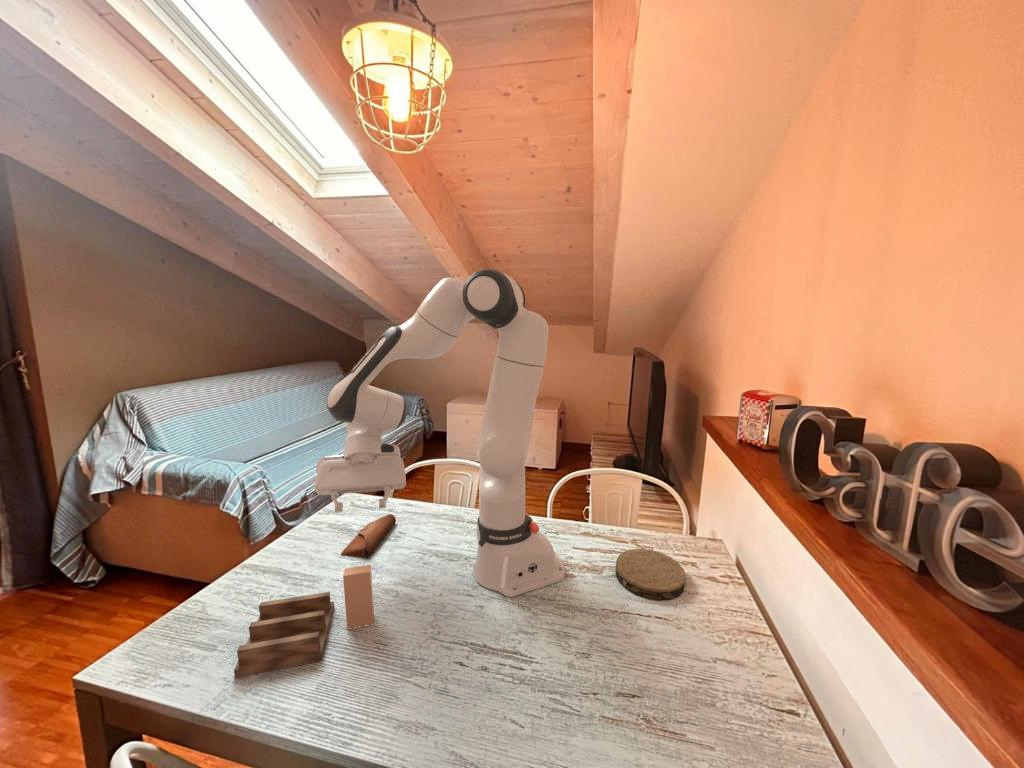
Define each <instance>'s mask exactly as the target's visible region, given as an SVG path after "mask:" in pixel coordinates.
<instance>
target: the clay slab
mask: <svg viewBox="0 0 1024 768" xmlns="http://www.w3.org/2000/svg"><path fill="white" fill-rule="evenodd" d="M342 575H343V577H342V580H343V592H344V593H343V594H344V605H345V614H346V615H345V617H346V629H347V630H350V629H349V628H352V629H355V628H354V627H358V628H360V627H359V626H364V627H366V626H365V625H369V626H373V625H374V623H375V622H374V620H375V611H374V610H375V609H374V608H375V607H374V593H373V592H374V591H373V576H372V575H373V574H372V564H367V565H365V564H364V565H358V566H353V567H346V568H344V571H343V574H342ZM373 622H374V623H373ZM372 624H373V625H372Z"/></svg>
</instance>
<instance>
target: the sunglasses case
mask: <svg viewBox="0 0 1024 768" xmlns="http://www.w3.org/2000/svg"><path fill="white" fill-rule="evenodd" d="M396 522H397V518H396V516H395V515H394V514H391V513H388V514H387V515H384V516H381V517H380V518H377V519H376V520H374V521H370V522H369V523H367V524H366V525H365V526H364V527H362V528H361V529H360V530H359V531H358V533H357V535H355V537H354V538H353V539H352V540H351V541H350V542H349V543H348V544H347V545H346V547H345V548H344V549H343V550H342V551H341V553H340V556H341V557H352V558H360V559H361V558H363V559H369V558H370V556H372V554H373V553H374V551H375V550H376V548H377V547H378V546H379V544H380V542H381V541H382V540H383V539H384V538H385V536H387V534H388V532H389V531H390V530H391V529H392V528H393V527H394V525H395V524H396Z"/></svg>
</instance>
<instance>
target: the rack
mask: <svg viewBox="0 0 1024 768" xmlns="http://www.w3.org/2000/svg"><path fill="white" fill-rule="evenodd" d="M334 610H335V601H333V600H332V601H331V592H330V591H326V592H319V593H313V594H307V595H301V596H295V597H288V598H287V597H286V598H281V599H280V598H279V599H274V600H267V601H262V602H260V603H259V606H258V611H259V617H258V619H257V620H256V621H253V622H250V624H249V626H248V633H249V638H248V640H247V642H246V643H245V644H241V645H239V646H238V648H237V650H236V654H237V663H236V665H235V667H234V669H233V673H234V678H239V677H245V676H249V675H250V676H251V675H255V674H256V675H257V674H261V673H265V672H270V671H277V670H281V669H286V668H291V667H297V666H301V665H307V664H312V663H317V662H318V663H319V662H321V661H322V660H323V657H324V653H325V648H326V646H327V645H326V644H327V640H328V637H327V636H329V631H330V628H329V627H331V624H330V623H332V620H331V619H333V615H334Z"/></svg>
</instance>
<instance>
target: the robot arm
mask: <svg viewBox="0 0 1024 768" xmlns="http://www.w3.org/2000/svg"><path fill="white" fill-rule="evenodd" d="M525 306H526V296H525V293H524V290H523V288H522V286H521V285H520V284H519V283H518V282H517V281H515V280H514V278H513V277H512V276H510V275H508V274H506V273H504V272H502V271H500V270H497V269H494V268H483V269H480V270H477V271H475V272H473V273H472V274H470V276H468V278H467V279H466V280H465V281H463V280H461V279H460V278H459V279H458V278H456V277H451V276H450V277H444V278H442V279H441V280H440V281H439V282H438V283H437V284H435V286H434V287H433V288H432V290H430V292H429V293H428V294H427V296H425V298H424V299H423V301H422V302H421V304H420V305H419V306H418V308H417V310H416V311H415V313H414V314H413V316H412V317H410V318H409V319H408V320H407V321H405V322H403V323H402V324H401V325H398V326H397V325H396V326H391V327H389V328H388V329H386V330H385V331H384V332H383V333H382V335H380V337H378V339H376V341H375V342H374V343H373V344H372V345H371V346H370V348H369V349H367V351H366V352H365V353H364V355H363V356H362V357H361V358H360V359H359V360H358V361H357V362H356V363H355V364H354V366H353V367H352V368H351V370H349V372H348V373H346V375H344V376H343V377H342V378H341V379H340V380H339V381H337V382H336V383H335V384H334V385H333V387H331V390H330V391H329V394H328V396H327V398H326V399H327V400H326V408H327V410H328V412H329V413H330V415H331V416H332V417H333V419H334V420H335V421H337V422H341V423H346V424H345V425H346V426H345V429H346V433H347V434H346V435H347V436H346V438H345V440H344V451H343V454H339V455H326V456H323V457H322V458H320V459H318V461H317V462H316V467H315V470H316V473H317V474H316V478H315V481H314V491H315V492H316V493H317V494H318V496H330V498H331V500H332V502H333V503H334V513H343V507H344V503H343V502H342V501H341V502H339V501H338V500H337V499H339V495H340V494H341V495H342V494H343V495H344V494H354V493H368V492H379V491H383V492H384V495H383V497H382V498H378V502H379V503H378V508H379V509H385V508H386V509H387V501H388V499H389V497H390V496H391V494H392V491H393V490H402V489H404V488H405V487H406V485H407V479H406V478H407V477H406V469H405V463H404V460H403V458H402V457H401V450H400V446H398V445H396V444H392V443H387V442H383V440H382V438H383V436H384V435H388V434H390V433H391V432H394V431H396V430H397V429H398V428H400V427H402V425H404V423H405V421H406V419H407V414H408V409H407V403H406V401H405V398H404V397H403V396H402V395H399V394H398V393H395V392H391V391H389V390H386V389H381V388H379V387H375V386H372V385H370V384H371V383H372V381H373V380H374V379H375V378H376V377H377V376H378V375H379V374H380V373H381V372H382V371H383V369H384V367H386V366H387V365H388V364H390V363H391V362H394V361H397V360H405V359H419V360H430V359H436V358H438V357H441V356H443V355H445V354H446V353H448V352H449V351H450V349H451V348H452V347H453V345H454V344H455V343H456V340H457V339H458V337H459V336H460V334H461V333H462V331H463V330H464V328H465V327H466V325H467V324H468V323H469V322H470V321H472V320H473V319H475V318H476V319H477V320H479V321H481V322H482V323H485V324H486V325H488V326H489V327H491V328H493V329H495V330H497V331H498V343H497V350H496V353H495V358H494V363H493V367H492V372H491V373H492V374H491V378H490V383H489V388H488V391H487V398H486V401H485V406H484V412H483V417H482V420H481V425H480V431H479V435H478V441H477V445H476V455H477V458H478V462H479V478H478V482H479V483H478V512H479V513H478V517H477V525H476V539H477V546H478V547H477V551H476V552H477V553H476V557H475V558H476V559H475V563H474V566H473V569H472V574H473V578H474V579H475V581H476V582H477V583H478V584H479V585H481V586H482V587H484V588H487V589H489V590H492V591H497V592H499V593H501V594H503V595H504V596H505V597H509V598H510V597H511V598H512V597H516V596H519V595H522V594H525V593H528V592H531V591H535V590H536V589H540V588H543V587H546V586H550V585H552V584H556V583H558V582H561V581H563V580H565V577H566V572H565V570H566V569H565V566H564V563H563V561H562V559H561V558H560V556H559V555H558V554H557V553H556V552H555V551H554V547H553V545H552V543H551V542H550V540H549V539H548V538H547V536H546V535H545V534H543V533H541V532H540V531H539V530H540V527H539V526H538V524H537V522H534V521H533V518H532V517H531V516H530V515H529V514H528V513H527V512H526V459H527V457H528V452H529V451H528V450H529V445H530V440H531V435H532V429H533V423H534V417H535V411H536V410H535V409H536V404H537V398H538V393H539V389H540V385H541V380H542V376H543V372H544V368H545V367H544V366H545V363H546V359H547V357H546V356H547V352H548V341H549V325H548V322H547V320H546V319H545V317H544V316H542V315H540V314H539V313H537V312H535V311H532V310H528V309H526V308H525Z"/></svg>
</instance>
